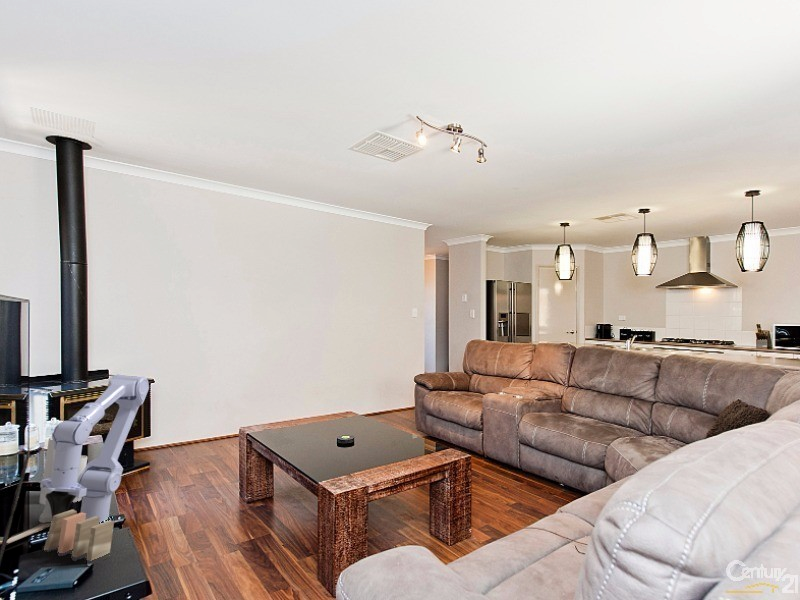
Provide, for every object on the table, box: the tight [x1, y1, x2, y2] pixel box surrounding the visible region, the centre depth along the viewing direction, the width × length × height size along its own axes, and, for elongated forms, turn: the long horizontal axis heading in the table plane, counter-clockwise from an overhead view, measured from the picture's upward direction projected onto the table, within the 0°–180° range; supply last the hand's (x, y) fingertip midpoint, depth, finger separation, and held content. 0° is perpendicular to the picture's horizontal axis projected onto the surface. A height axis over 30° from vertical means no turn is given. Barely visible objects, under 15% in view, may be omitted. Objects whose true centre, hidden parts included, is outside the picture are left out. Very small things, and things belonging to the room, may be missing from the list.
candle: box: [38, 436, 88, 506], centre depth 148 cm, size 11×7×20 cm, turn 120°
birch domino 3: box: [86, 519, 115, 561], centre depth 113 cm, size 2×5×9 cm, turn 162°
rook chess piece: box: [38, 491, 52, 524], centre depth 133 cm, size 4×4×8 cm
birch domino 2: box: [71, 516, 100, 558], centre depth 115 cm, size 2×5×9 cm, turn 162°
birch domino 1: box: [43, 508, 78, 551], centre depth 117 cm, size 2×5×9 cm, turn 161°
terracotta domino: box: [57, 511, 86, 553], centre depth 116 cm, size 2×5×9 cm, turn 162°
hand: (58, 520), depth 118 cm, fingers closed
